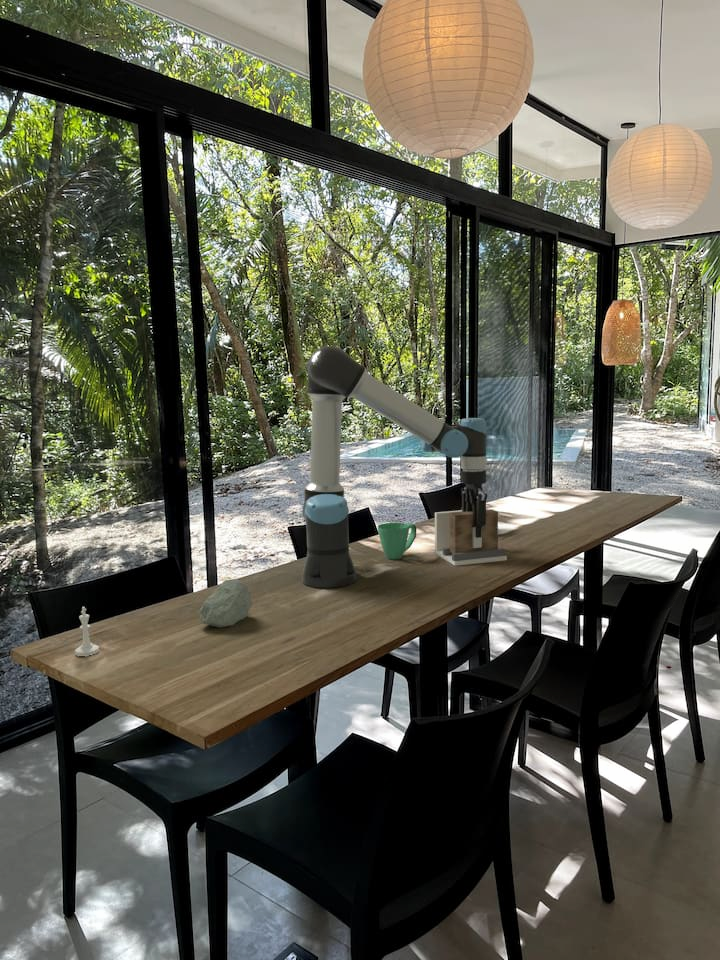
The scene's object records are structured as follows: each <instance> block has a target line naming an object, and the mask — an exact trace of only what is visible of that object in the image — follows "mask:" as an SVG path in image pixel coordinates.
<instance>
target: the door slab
mask: <svg viewBox="0 0 720 960" xmlns="http://www.w3.org/2000/svg"><path fill="white" fill-rule="evenodd" d="M472 525H474V520H473V511H468V512H456V513H450V552H452V553H461V552H471V551H481V550H491V549H499V547H498V546H499V545H498V544H499V543H498V542H499V512H498V511H496V510H495V509H486V525H485V526H482V547H480V548H473V541H472Z"/></svg>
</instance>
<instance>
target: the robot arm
mask: <svg viewBox="0 0 720 960" xmlns="http://www.w3.org/2000/svg"><path fill="white" fill-rule="evenodd" d="M306 374H307V390H306V391H307V396H308V397H310V399H311V402H312V403H311V407H312V408H311V413H312V414H311V437H310V438H311V440H310V444H311V445H310V475H309V477H310V478H309V483H307V484H306V485H305V486H304V500H303V501H304V503H303V506H302V507H303V508H302V516H303V519H304V521H305V527H306V547H307V550H306V551H307V552H306V558H305V561H304V565H303V569H302V573H301V581H302V584H304V585H306V586H308V587H312V588H323V589H324V588H325V589H326V588H328V589H329V588H339V587H345V586H348V585H351V584H352V583H355V582H356V581H357V571H356V568H355V565H354V563H353V560H352V557H351V554H350V539H349V538H350V537H349V534H350V533H349V506H348V500H346V498H345V487H344V486H343V485H342V484H341V483H340V473H341V472H340V467H341V442H342V441H341V440H342V439H341V438H342V437H341V436H342V414H343V413H342V412H343V411H342V410H343V401H344V400H345V399H346V398H347V399H350V398H351V399H352V398H354V400H356V401H359V402H360V403H361V404H363V405H365V406H367V407H368V408H369V409H371V410H373V411H374V412H376V413H377V414H379V415H381V416H383V417H384V418H386V419H387V420H389V421H390V422H392V423H394V424H395V425H397V427H398V426H399V427H400V428H401V429H403V430H405V431H407V432H408V433H410V434H412V435H413V436H414V437H416V438H418V439H420V446H421V450H422V451H423V452H425V453H428V452H429V453H434V452H435V453H436V452H438V453H441V454H442V455H444V456H446V457H448V458H451V459H452V458H453V459H454V458H459V457H460V469H462V470H461V471H460V473H461V474H460V482H461V483H462V484H465V485H464V486H465V487H461V488H460V492H461V493H460V494H461V508H462V512H468V511H473V520H474V525H472V541H473V548H480V547H482V526H485V525H486V510H487V498H488V494H487V493H484V492H483V484H485V483H487V471H486V470H485V469H486V468H487V462H488V458H487V434H488V433H487V422H486V421H487V420H485V419H484V418H482V417H481V418H480V417H468V418H462V419H461V420H460V424H458V425H450V424H448V423H446V422H445V421H443V420H442V419H440V418H438V417H437V416H435V415H433V414H432V413H430V412H429V411H427V410H426V409H424V408H422V406H419V405H418V404H417V403H415V402H413V401H412V400H410V399H409V398H407V397H406V396H404V395H402V394H401V393H400V392H398V391H396V390H394V389H393V388H392V387H390V386H388V385H386V384H385V383H383V382H382V381H380V380H379V379H377V378H375V377H374V376H372V375H371V374H369V373H368V369H367V367H365V366H364V365H362V364H361V363H359V362H358V361H356V360H355V359H354V358H352V357H351V356H350V355H349V354H348V353H347V352H345V351H344V350H343V349H341V348H340V347H337V346H334V345H333V346H331V345H329V346H328V345H327V346H323V347H320V348H319V349H316V350H315V351H314V352H312V354H311V355H310V356H309V358H308V360H307V364H306Z"/></svg>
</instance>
